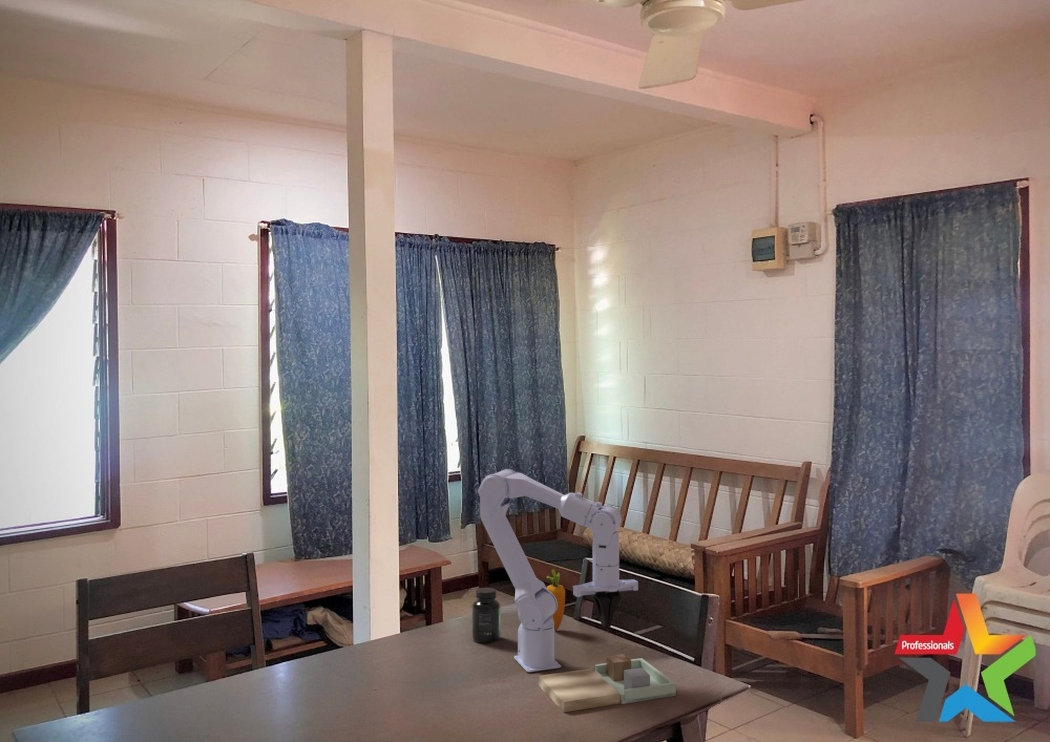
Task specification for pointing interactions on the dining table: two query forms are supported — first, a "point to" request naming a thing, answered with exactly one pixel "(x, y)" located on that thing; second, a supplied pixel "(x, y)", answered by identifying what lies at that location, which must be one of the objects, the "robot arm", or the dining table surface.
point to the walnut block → (617, 666)
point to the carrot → (557, 598)
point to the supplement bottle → (486, 617)
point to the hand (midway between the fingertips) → (606, 625)
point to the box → (657, 688)
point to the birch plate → (578, 690)
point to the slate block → (636, 678)
